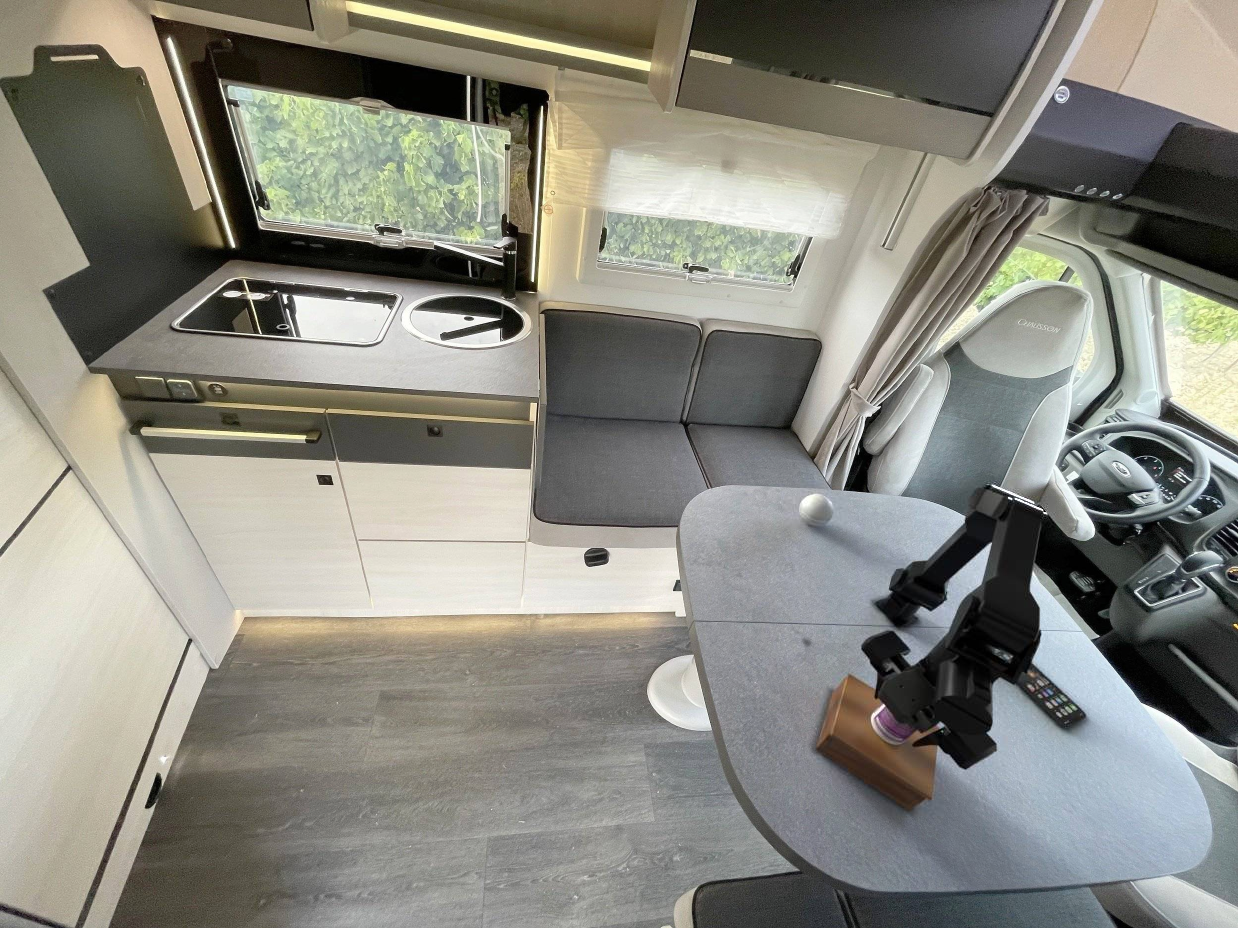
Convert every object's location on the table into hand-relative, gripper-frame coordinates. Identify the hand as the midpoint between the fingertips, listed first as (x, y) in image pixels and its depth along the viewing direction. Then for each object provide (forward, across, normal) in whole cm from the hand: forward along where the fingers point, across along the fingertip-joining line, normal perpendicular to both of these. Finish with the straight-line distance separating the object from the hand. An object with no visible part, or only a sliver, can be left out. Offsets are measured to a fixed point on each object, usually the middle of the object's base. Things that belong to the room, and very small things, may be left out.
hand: (895, 720), depth 76 cm
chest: (+9, 0, 0) cm, 9 cm away
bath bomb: (+9, -47, +28) cm, 55 cm away
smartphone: (+9, +3, +43) cm, 44 cm away
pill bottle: (+3, 0, 0) cm, 3 cm away
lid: (+3, 0, 0) cm, 3 cm away
